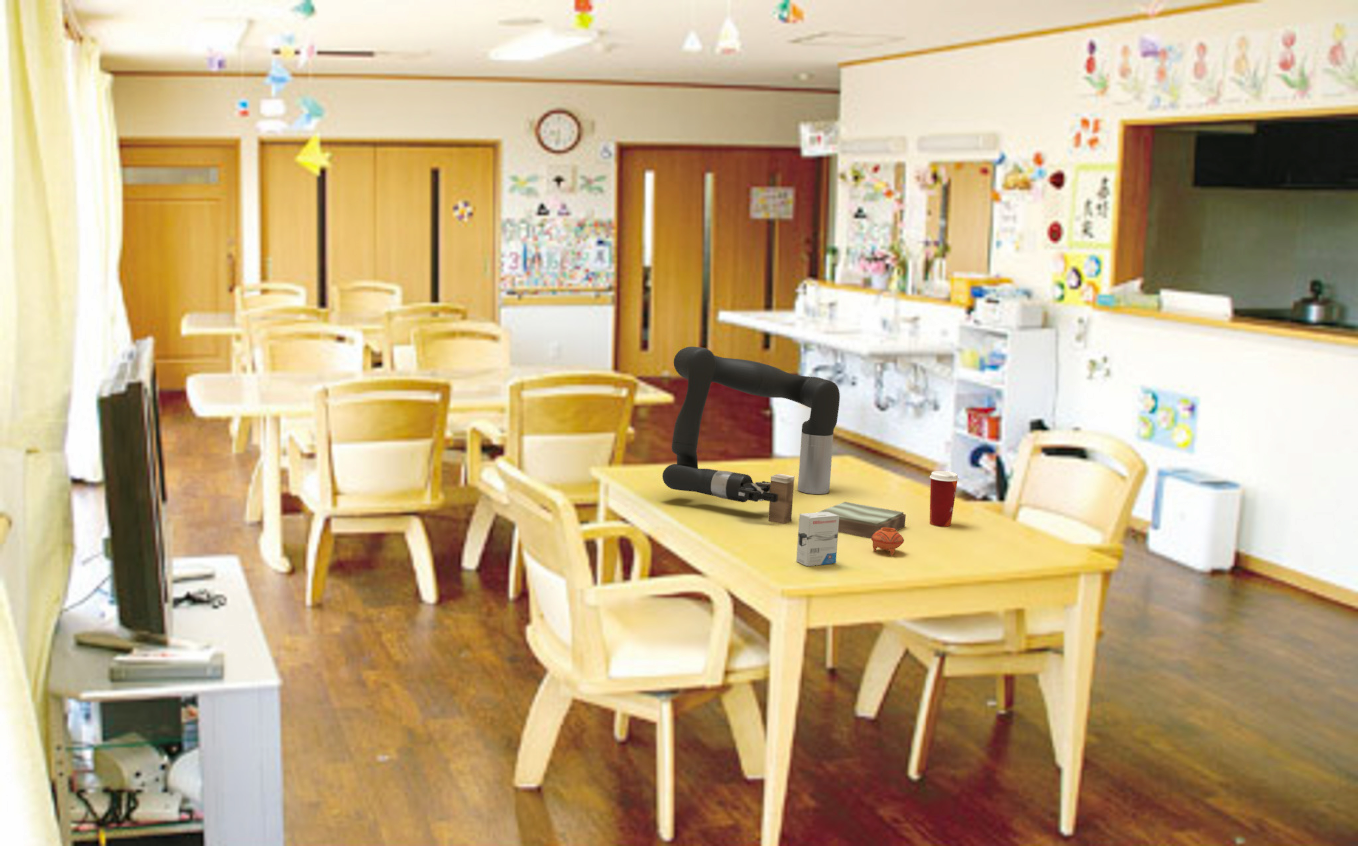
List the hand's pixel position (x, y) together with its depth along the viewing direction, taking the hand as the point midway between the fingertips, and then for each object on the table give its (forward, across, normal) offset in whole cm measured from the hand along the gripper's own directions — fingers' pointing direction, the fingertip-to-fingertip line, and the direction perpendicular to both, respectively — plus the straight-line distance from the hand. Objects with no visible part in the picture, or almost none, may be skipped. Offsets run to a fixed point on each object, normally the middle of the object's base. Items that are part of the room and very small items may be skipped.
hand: (784, 495), depth 367 cm
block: (-1, 0, +7) cm, 7 cm away
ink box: (+25, -31, +7) cm, 40 cm away
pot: (+34, -10, +7) cm, 36 cm away
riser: (+18, +9, +7) cm, 21 cm away
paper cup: (+33, +28, +7) cm, 44 cm away
